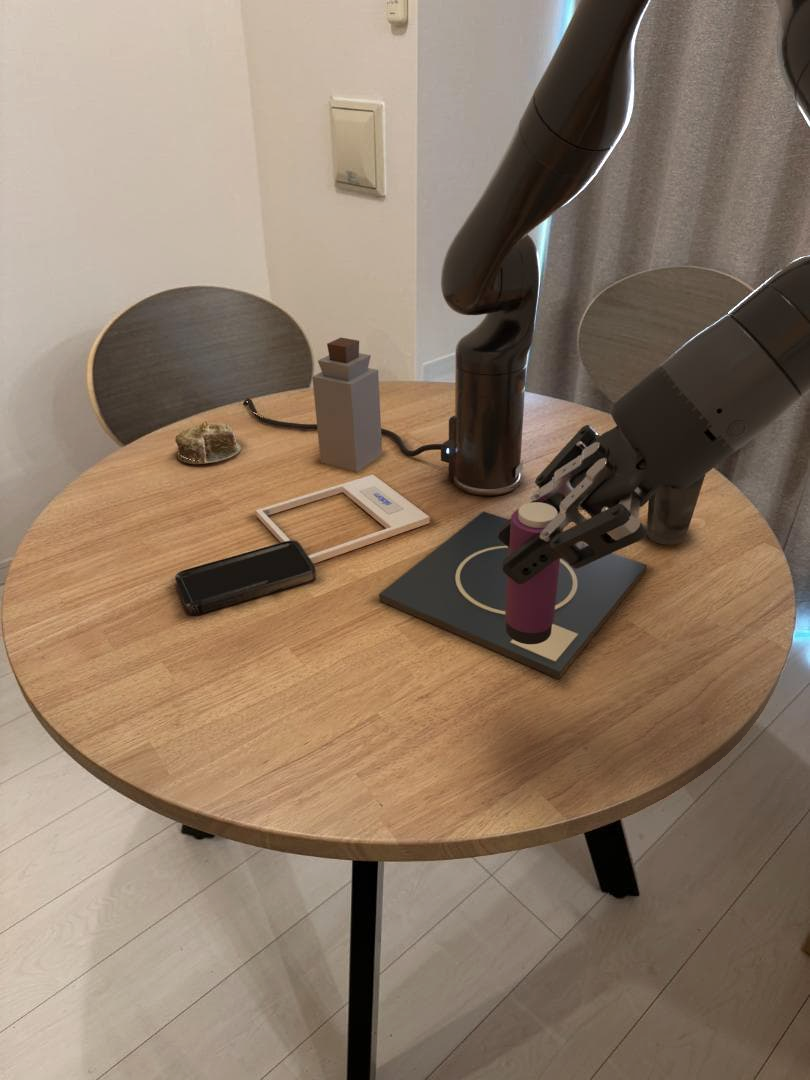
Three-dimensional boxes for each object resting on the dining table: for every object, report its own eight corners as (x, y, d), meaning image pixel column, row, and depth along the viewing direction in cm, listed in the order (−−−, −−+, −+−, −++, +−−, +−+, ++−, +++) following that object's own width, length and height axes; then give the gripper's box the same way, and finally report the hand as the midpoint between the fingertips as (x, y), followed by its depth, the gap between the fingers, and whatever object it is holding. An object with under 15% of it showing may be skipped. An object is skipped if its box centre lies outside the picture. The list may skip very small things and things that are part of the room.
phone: (173, 573, 85) (296, 538, 91) (175, 580, 86) (297, 545, 91) (187, 610, 79) (318, 570, 84) (189, 618, 80) (319, 578, 85)
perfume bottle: (382, 454, 114) (376, 339, 104) (356, 472, 109) (348, 352, 99) (347, 445, 117) (338, 332, 107) (320, 462, 112) (309, 345, 102)
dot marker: (495, 633, 59) (501, 514, 53) (519, 609, 61) (527, 493, 55) (538, 652, 57) (549, 530, 51) (560, 626, 59) (573, 507, 53)
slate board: (379, 600, 82) (378, 592, 81) (483, 517, 97) (483, 510, 96) (559, 679, 70) (560, 670, 70) (646, 571, 85) (647, 563, 85)
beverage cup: (700, 553, 88) (735, 394, 77) (637, 548, 89) (663, 391, 79) (692, 522, 94) (724, 371, 83) (633, 518, 95) (657, 368, 85)
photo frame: (429, 515, 95) (302, 559, 87) (429, 523, 96) (303, 567, 88) (372, 473, 106) (255, 509, 98) (373, 480, 106) (256, 516, 98)
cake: (163, 462, 115) (155, 429, 112) (209, 439, 122) (202, 408, 119) (209, 471, 110) (201, 437, 107) (254, 446, 117) (248, 414, 114)
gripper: (641, 332, 53) (468, 482, 60) (701, 408, 41) (477, 585, 48) (702, 400, 56) (529, 537, 63) (775, 491, 44) (552, 647, 51)
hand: (508, 557), depth 55 cm, fingers closed on dot marker, 3 cm apart
